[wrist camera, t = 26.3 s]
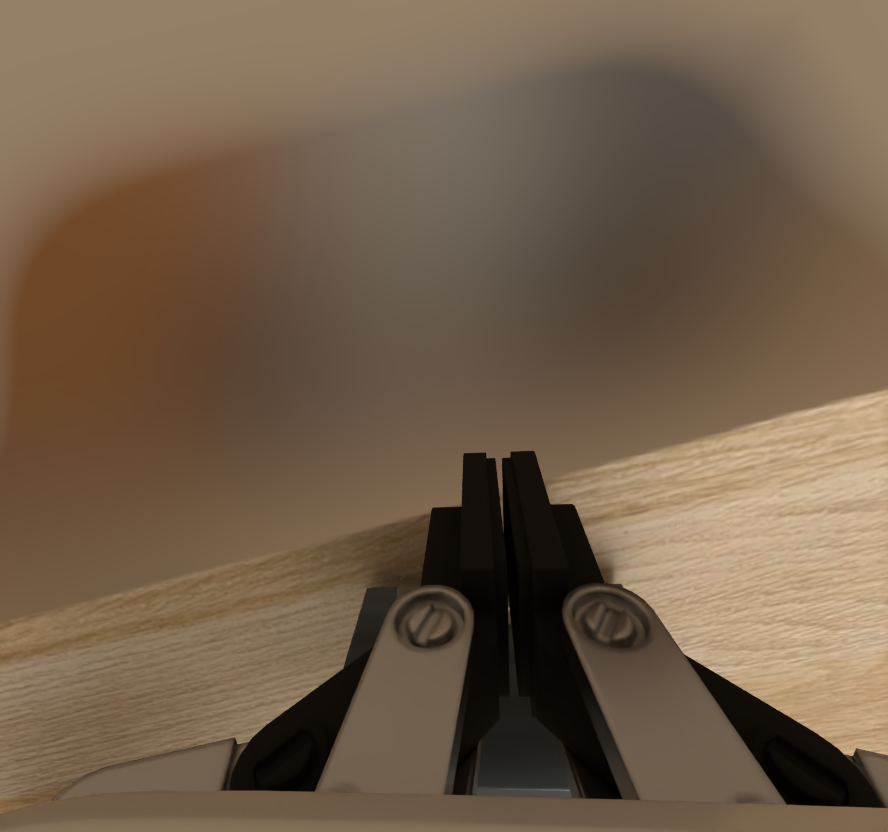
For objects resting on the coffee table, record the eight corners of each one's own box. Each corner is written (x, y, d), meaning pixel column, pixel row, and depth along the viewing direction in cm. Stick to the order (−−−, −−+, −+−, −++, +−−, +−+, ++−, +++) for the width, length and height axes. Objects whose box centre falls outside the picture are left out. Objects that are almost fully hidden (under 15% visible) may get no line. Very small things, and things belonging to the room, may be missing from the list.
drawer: (351, 498, 18) (273, 670, 11) (631, 490, 17) (749, 669, 10) (398, 770, 25) (369, 987, 18) (601, 773, 24) (658, 1003, 17)
